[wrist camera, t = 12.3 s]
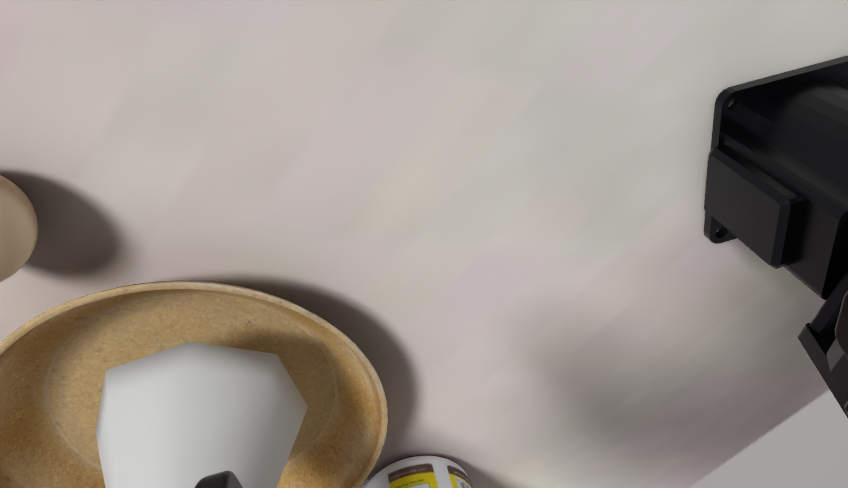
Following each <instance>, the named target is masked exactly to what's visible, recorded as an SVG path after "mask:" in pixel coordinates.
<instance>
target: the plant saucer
mask: <svg viewBox="0 0 848 488" xmlns="http://www.w3.org/2000/svg"><path fill="white" fill-rule="evenodd" d="M189 341H190V342H197V343H204V344H210V345H217V346H224V347H231V348H238V349H245V350H252V351H259V352H266V353H273V354H277V355H278V357H279V358H280V360H281V362H282V364H283V365H284V367H285V369H286V370H287V372H288V374H289V375H290V377H291V379H292V381H293V382H294V384H295V386H296V387H297V389H298V391H299V392H300V394H301V396H302V398H303V399H304V401H305V403H306V404H307V406H308V408H307V411H306V413H305V416H304V419H303V421H302V424H301V427H300V429H299V432H298V434H297V437H296V439H295V442H294V445H293V447H292V450H291V452H290V455H289V458H288V460H287V463H286V465H285V468H284V470H283V473H282V476H281V478H280V480H279V483H278V485H277V488H359V487H360V486H361V485H362V483H363V482H364V481H365V480H366V478H367V477H368V476H369V474H370V472H371V471H372V469H373V468H374V466H375V463H376V461H377V460H378V458H379V456H380V454H381V451H382V448H383V445H384V442H385V439H386V434H387V426H388V409H387V400H386V396H385V391H384V389H383V386H382V384H381V381H380V379H379V376H378V374H377V372H376V370H375V369H374V367H373V366H372V364H371V363H370V361H369V360H368V359H367V357H366V356H365V354H364V353H363V352H362V351H361V350H360V349H359V348H358V346H357V345H356V344H355V343H354V342H353V341H352V340H351V339H349V338H348V337H347V336H346V335H345V334H344V333H343V332H341V331H340V330H339V329H337V328H336V327H335V326H333V325H332V324H330V323H329V322H327V321H326V320H325V319H323V318H321V317H319V316H318V315H316V314H314V313H312V312H310V311H308V310H306V309H305V308H303V307H301V306H299V305H296V304H294V303H292V302H290V301H287V300H285V299H282V298H279V297H277V296H274V295H271V294H268V293H265V292H262V291H258V290H254V289H250V288H245V287H241V286H235V285H229V284H223V283H216V282H203V281H160V282H150V283H141V284H134V285H128V286H123V287H118V288H114V289H109V290H105V291H101V292H98V293H94V294H91V295H87V296H84V297H81V298H78V299H75V300H72V301H70V302H67V303H64V304H62V305H59V306H57V307H55V308H53V309H50V310H49V311H47V312H45V313H43V314H41V315H39V316H37V317H35V318H34V319H32V320H30V321H29V322H27V323H26V324H24V325H23V326H21V327H20V328H19V329H17V330H16V331H14V332H13V333H12V334H10V335H9V336H8V337H7V338H5V339H4V340H3V341H2V342H1V343H0V488H106V487H105V482H104V477H103V472H102V467H101V461H100V456H99V451H98V444H97V437H96V425H97V419H98V413H99V407H100V402H101V396H102V390H103V384H104V378H105V372H106V370H108V369H111V368H114V367H117V366H120V365H123V364H126V363H129V362H131V361H134V360H137V359H140V358H143V357H146V356H149V355H152V354H155V353H157V352H160V351H163V350H166V349H169V348H172V347H175V346H178V345H181V344H183V343H186V342H189Z"/></svg>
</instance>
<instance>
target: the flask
mask: <svg viewBox="0 0 848 488" xmlns="http://www.w3.org/2000/svg"><path fill="white" fill-rule="evenodd" d="M307 408H308V406H307V404H306V403H305V401H304V399H303V398H302V396H301V394H300V392H299V391H298V389H297V387H296V386H295V384H294V382H293V381H292V379H291V377H290V375H289V374H288V372H287V370H286V369H285V367H284V365H283V364H282V362H281V360H280V358H279V357H278V355H277V354H273V353H266V352H259V351H252V350H245V349H238V348H231V347H224V346H217V345H210V344H204V343H197V342H190V341H189V342H186V343H183V344H181V345H178V346H175V347H172V348H169V349H166V350H163V351H160V352H157V353H155V354H152V355H149V356H146V357H143V358H140V359H137V360H134V361H131V362H129V363H126V364H123V365H120V366H117V367H114V368H111V369H108V370H106V372H105V378H104V384H103V390H102V396H101V402H100V407H99V413H98V419H97V425H96V437H97V444H98V451H99V456H100V461H101V467H102V472H103V477H104V482H105V487H106V488H195V486H196V484H197V483H198V482H199V481H200V480H201V479H202V478H204V477H206V476H209V475H212V474H216V473H219V472H223V471H231V472H233V473H234V474H235V475H236V477H237V479H238V480H239V482H240V484H241V485H242V487H243V488H277V485H278V483H279V480H280V478H281V476H282V473H283V470H284V468H285V465H286V463H287V460H288V458H289V455H290V452H291V450H292V447H293V445H294V442H295V439H296V437H297V434H298V432H299V429H300V427H301V424H302V421H303V419H304V416H305V413H306V411H307Z"/></svg>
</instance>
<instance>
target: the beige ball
mask: <svg viewBox="0 0 848 488" xmlns="http://www.w3.org/2000/svg"><path fill="white" fill-rule="evenodd" d="M37 236H38V222H37V217H36V213H35V210H34V208H33V206H32V204H31V202H30V200H29V199H28V197H27V196H26V195H25V193H24V192H23V191H22V190H21V189H20V188H19V187H17V186H16V185H15V184H14V183H12V182H11V181H10V180H8V179H7V178H5V177H3V176H1V175H0V282H1V281H3V280H5V279H7V278H9V277H10V276H12V275H13V274H14V273H16V272H17V271H18V270H19V269H20V268H21V267H22V266H23V265H24V264H25V263H26V261H27V260H28V259H29V257H30V256H31V254H32V252H33V250H34V248H35V245H36V242H37Z"/></svg>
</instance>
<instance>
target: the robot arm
mask: <svg viewBox="0 0 848 488" xmlns="http://www.w3.org/2000/svg"><path fill="white" fill-rule="evenodd" d="M734 98H735V100H734V103H733V104H732V105H731V106H729V107H728V105H729V103H730V101H731V100H732V99H734ZM704 208H705V210H706V212H705V224H704V235H705V236H706V237H707V238H708V239H709V240H710V241H711V242H713V243H722V242H725V241H729V240H732V239H736V238H738V239H739V240H741V241H742V242H743V243H744V244H745V245H746V246H748V247H749V248H750V249H751V250H752V251H753V252H755V253H756V254H757V255H758V256H759V257H760V258H762V259H763V260H764V261H765V262H766V263H767V264H769V265H770V266H772V267H774V268H776V269H777V268H781V267H785V268H786V269H787V270H789V271H790V272H791V273H792V274H793V275H795V276H796V277H797V278H798V279H799V280H801V281H802V282H803V283H804V284H805V285H807V286H808V287H809V288H810V289H811V290H813V291H814V292H815V293H816V294H817V295H819V296H820V297H821V298H822V299H824V300H826V301H825V302H824V304H823V305H822V307H821V308H820V310H819V311H818V313H817V314H816V316H815V317H814V319H813V320H812V322H811V323H807V324H806V325H805V327H804V328H803V330H802V331H801V333H800V334H799V336H798V339H799V340H800V342H801V343H802V345H803V347H804V348H805V350H806V351H807V353H808V355H809V356H810V358H811V360H812V361H813V363H814V364H815V366H816V368H817V369H818V371H819V372H820V374H821V376H822V377H823V379H824V380H825V382H826V384H827V385H828V387H829V389H830V390H831V392H832V393H833V395H834V397H835V398H836V400H837V401H838V403H839V404H840V406H841V408H842V409H843V411H844V413H845V414H846V416H847V418H848V56H844V57H840V58H837V59H833V60H829V61H825V62H822V63H818V64H814V65H810V66H807V67H803V68H799V69H796V70H792V71H788V72H784V73H781V74H777V75H773V76H769V77H766V78H762V79H758V80H754V81H751V82H747V83H743V84H739V85H736V86H732V87H729V88H727V89H724V90H723V91H722V92H721V93H720V94H719V96H718V97H717V99H716V102H715V110H714V121H713V132H712V144H711V152H710V154H709V158H708V170H707V182H706V193H705V205H704ZM720 228H721V229H720ZM718 229H720V230H719V231H718V232H717V230H718ZM195 488H243V487H242V485H241V484H240V482H239V480H238V479H237V477H236V475H235V474H234V473H233V472H231V471H223V472H219V473H216V474H212V475H209V476H206V477H204V478H202V479H201V480H200V481H199V482H198V483H197V484H196V486H195Z"/></svg>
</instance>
